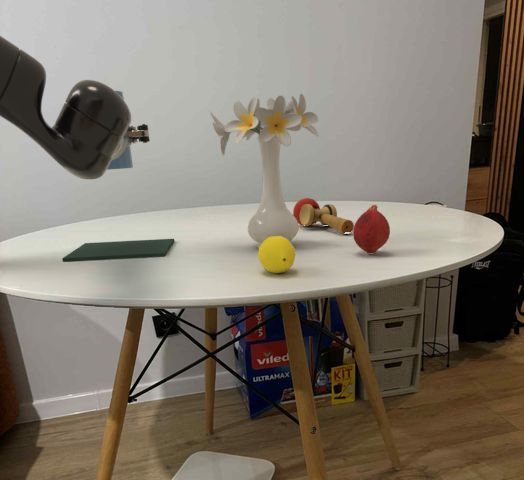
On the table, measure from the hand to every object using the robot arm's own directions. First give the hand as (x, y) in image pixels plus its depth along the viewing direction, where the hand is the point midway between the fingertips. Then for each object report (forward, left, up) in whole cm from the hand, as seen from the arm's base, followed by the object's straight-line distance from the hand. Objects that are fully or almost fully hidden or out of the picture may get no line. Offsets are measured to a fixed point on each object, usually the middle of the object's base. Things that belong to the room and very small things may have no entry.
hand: (108, 136), depth 88 cm
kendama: (+39, +11, -20) cm, 46 cm away
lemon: (+27, -24, -20) cm, 42 cm away
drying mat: (-1, -1, -20) cm, 20 cm away
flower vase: (+27, -5, -20) cm, 34 cm away
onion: (+43, -15, -20) cm, 50 cm away
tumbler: (0, -2, +7) cm, 7 cm away
